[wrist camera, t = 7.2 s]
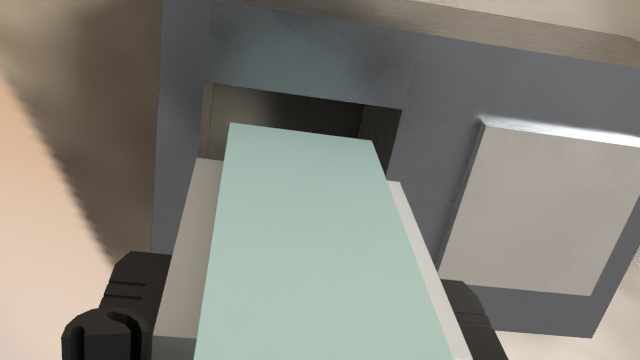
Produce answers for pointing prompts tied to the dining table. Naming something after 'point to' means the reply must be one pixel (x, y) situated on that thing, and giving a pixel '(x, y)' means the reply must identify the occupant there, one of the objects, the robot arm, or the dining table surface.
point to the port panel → (441, 134)
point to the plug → (311, 257)
